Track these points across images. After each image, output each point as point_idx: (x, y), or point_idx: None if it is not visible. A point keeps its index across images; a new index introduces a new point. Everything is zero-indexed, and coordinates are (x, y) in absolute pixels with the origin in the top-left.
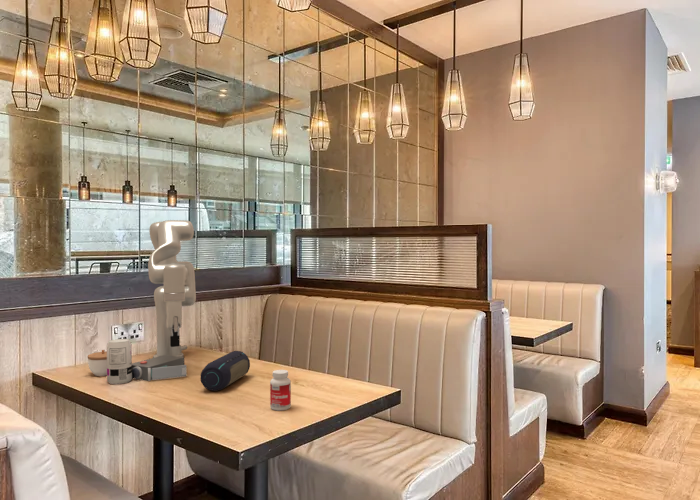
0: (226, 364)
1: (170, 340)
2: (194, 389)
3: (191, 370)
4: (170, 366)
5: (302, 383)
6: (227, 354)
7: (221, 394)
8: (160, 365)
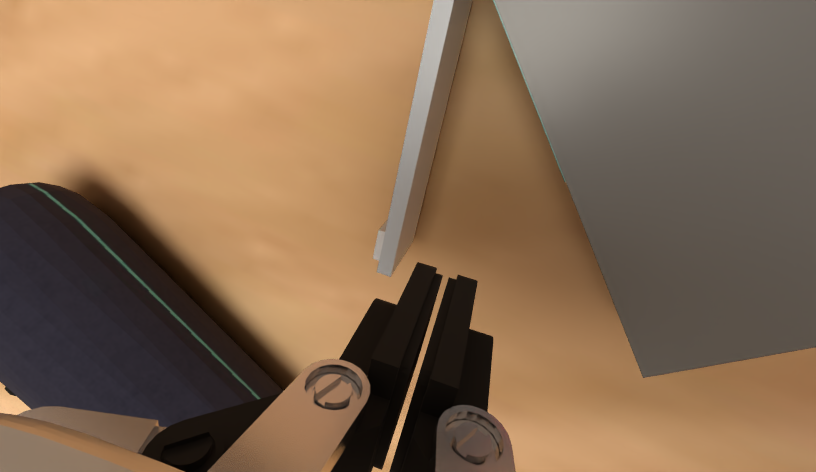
0: None
1: (447, 322)
2: (145, 163)
3: (564, 335)
4: (410, 162)
5: None
6: None
7: None
8: (537, 107)
